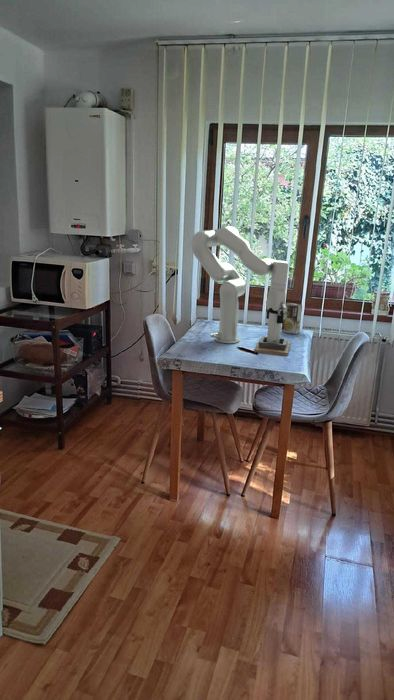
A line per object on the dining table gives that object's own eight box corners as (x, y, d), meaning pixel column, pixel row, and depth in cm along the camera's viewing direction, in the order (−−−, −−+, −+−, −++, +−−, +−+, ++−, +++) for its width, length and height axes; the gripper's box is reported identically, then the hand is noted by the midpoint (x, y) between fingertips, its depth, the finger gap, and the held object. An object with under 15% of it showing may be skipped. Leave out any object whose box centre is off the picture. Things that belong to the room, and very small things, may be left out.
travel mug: (276, 347, 240) (280, 307, 235) (264, 345, 243) (267, 306, 238) (281, 345, 245) (285, 306, 240) (269, 343, 248) (272, 304, 243)
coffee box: (300, 332, 280) (302, 304, 276) (295, 334, 275) (298, 306, 271) (285, 329, 285) (287, 302, 280) (280, 331, 280) (283, 303, 275)
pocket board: (287, 355, 233) (288, 347, 232) (254, 352, 236) (254, 344, 235) (290, 344, 253) (291, 336, 252) (259, 341, 257) (260, 333, 256)
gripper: (262, 283, 242) (259, 317, 247) (281, 289, 227) (277, 325, 232) (275, 283, 245) (271, 316, 250) (294, 289, 230) (290, 324, 235)
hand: (274, 320), depth 241 cm, fingers open, 9 cm apart
